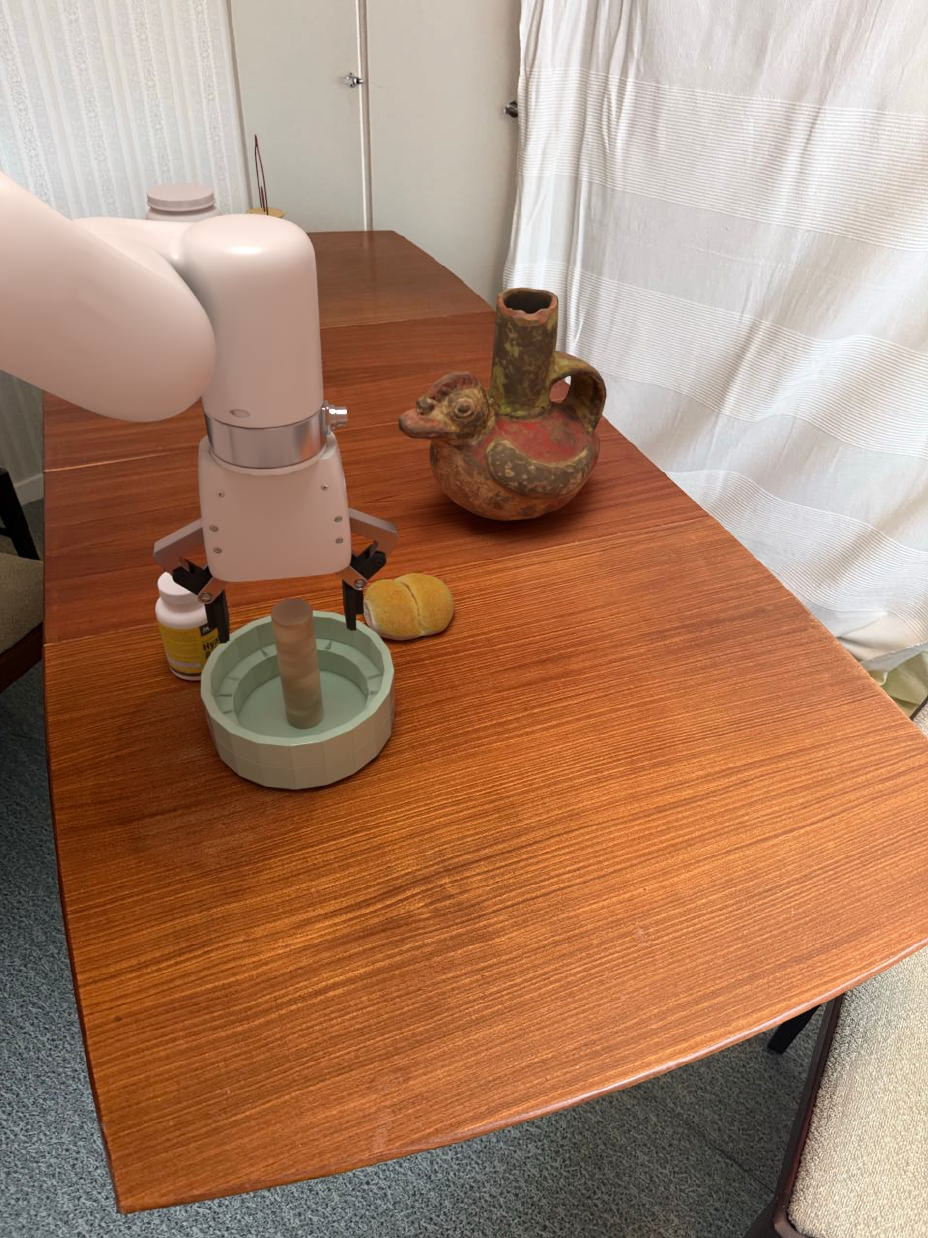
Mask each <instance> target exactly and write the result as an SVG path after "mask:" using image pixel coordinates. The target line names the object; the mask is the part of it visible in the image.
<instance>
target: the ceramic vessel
mask: <svg viewBox="0 0 928 1238" xmlns="http://www.w3.org/2000/svg"><path fill="white" fill-rule="evenodd" d="M495 307H496V308H495V318H494V319H495V320H494V335H493V336H494V337H493V348H492V360H491V361H492V362H491V372H490V380H489V381H490V382H489V389H488V392H487V393H486V391H485V388H484V387H483V385H482V384H481V383H480V381H479V380H478V378H477V377H476V376H475V374H473V373H472V372H470V371H469V370H468V371H467V370H455V371H451V372H448V373H446V374H444V375H443V376H442V377H439V378H438V379H437V380H436V381H435V382H434V383H433V384H431V385H430V387H429V389H428V390H427V392H426V393H425V394H424V395H421V396H420V397H419V398H418V399H417V400H416V401H415V407H414V408H411V409H409V410H407V411H404V412H402V413H401V415H400V416H399V417H398V418H397V422H398V429H399V431H400V432H401V433H403V434H404V435H405V436H407V437H409V438H410V439H414V440H418V439H421V440H430V443H429V449H428V452H429V453H428V459H429V465H430V470H431V473H432V476H433V477H434V479H435V481H436V483H437V485H438V487H439V488H440V489H441V490H442V492H443V493H444V494H445V495H446V496H447V497H448V498H449V499H450V500H452V501H453V502H454V503H455V504H457V505H458V506H460V507H461V508H463V509H465V510H466V511H468V512H470V513H471V514H473V515H476V516H478V517H481V518H484V519H489V520H493V521H501V522H508V521H520V520H521V521H522V520H532V519H536V518H539V517H541V516H544V515H545V514H548V513H552V512H556V511H557V510H560V509H561V508H562V507H563V506H566V505H567V504H568V503H570V501H571V500H573V499H574V498H575V497H576V496H577V494H578V493H579V492H580V490H581V489H582V488H583V486H585V484H586V482H587V481H588V479H589V478H590V476H591V475H592V473H593V472H594V469H595V468H596V465H597V463H598V460H599V456H600V452H601V439H600V437H599V436H600V435H598V433H597V432H595V431H596V429H597V427H598V425H599V423H600V420H601V418H602V416H603V412H604V409H605V405H606V401H607V398H608V397H607V387H606V383H605V380H604V378H603V376H602V375H601V374H600V372H599V370H597V368H596V367H594V366H593V365H591V364H590V363H588V362H587V361H584V360H583V359H581V358H579V357H577V356H575V355H573V354H570V353H566V352H564V351H560V350H557V342H558V328H559V297H558V295H557V294H555V293H554V292H552V291H549V290H546V289H538V288H531V287H513V288H508V289H504V290H502V291H500V292H499V293H498V295H497V297H496V306H495ZM569 377H570V380H569V387H568V390H567V393H566V395H565V397H564V398H563V399H562V401H561V402H556V401H553V400H551V398H550V394H551V392H552V388H553V386H554V385H555V384H557V383H559V382H560V381H561V380H564V379H566V378H569Z"/></svg>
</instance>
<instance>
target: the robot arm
mask: <svg viewBox="0 0 928 1238" xmlns="http://www.w3.org/2000/svg"><path fill="white" fill-rule="evenodd" d="M316 260H317V259H316V253H315V249H314V245H313V243H312V241H311V239H310V237H309V236H308V234H307V233H306V232H305V230H303V229H302V228H301V227H300V226H299V225H297V224H296V223H294V222H292V221H290V220H287V219H284V218H277V217H273V216H268V215H260V214H245V213H229V214H222V215H221V216H216V217H212V218H208V219H205V220H202V221H200V222H169V221H152V220H146V219H141V218H140V219H139V218H129V217H117V216H85V217H78V218H73V219H70V218H68V217H66V215H64V214H62V213H61V212H59V211H58V210H56V209H55V208H53V207H52V206H51V205H49V204H48V203H47V202H44V201H43V200H42V199H40V198H39V197H38V196H36V195H35V194H33V193H31V192H30V191H29V190H27V189H26V188H25V187H23V185H21V184H20V183H18V182H17V181H15V180H14V179H13V178H11V177H10V176H8V175H7V174H6V173H5V172H3V171H2V170H0V370H1V371H2V372H5V373H7V374H8V375H11V376H13V377H15V378H17V379H19V380H21V381H24V382H26V383H28V384H29V385H31V386H34V387H36V388H38V389H41V390H43V391H45V392H47V393H49V394H51V395H53V396H55V397H57V398H60V399H62V400H64V401H67V402H68V403H70V404H72V405H74V406H77V407H79V408H82V409H84V410H86V411H90V412H92V413H95V414H98V415H101V416H104V417H107V418H110V419H115V420H120V421H125V422H133V423H135V422H136V423H151V422H160V421H163V420H166V419H169V418H173V417H175V416H177V415H179V414H181V413H183V412H185V411H186V410H188V409H189V408H190V407H191V406H193V405H194V404H195V403H197V402H198V400H199V399H200V398H201V403H202V411H203V415H204V422H205V428H206V435H205V436H203V437H202V438H201V439H200V441H199V443H198V453H197V454H198V455H197V481H198V482H197V483H198V496H199V506H200V507H199V509H200V518H198V519H197V520H194V521H192V522H191V523H189V524H187V525H185V526H183V527H181V528H179V529H177V530H175V531H174V532H172V533H170V534H168V535H166V536H164V537H162V538H160V539H158V540H156V541H155V542H154V543H153V547H152V548H153V549H152V558H153V560H154V561H155V562H156V563H157V564H158V565H159V566H160V567H161V569H163V570H164V571H165V572H167V573H169V574H170V575H171V576H172V579H173V581H174V582H175V583H176V584H178V585H180V586H181V587H183V588H185V589H187V590H188V591H190V592H192V593H194V594H195V595H197V598H198V600H199V602H201V603H203V604H204V606H205V612H206V617H207V622H208V627H209V629H213V628H217V630H218V635H219V641H220V644H224V643H227V641H230V634H231V632H230V631H231V630H230V627H231V623H230V621H231V620H230V612H229V606H228V601H227V594H226V587H227V586H228V585H229V584H230V583H241V582H243V583H244V582H245V583H246V582H258V581H259V582H260V581H270V580H271V581H272V580H282V579H284V580H285V579H294V578H295V579H296V578H304V577H314V576H322V575H323V576H324V575H330V574H335V575H337V577H338V578H340V579H341V587H342V589H341V590H342V606H343V613H344V614H343V615H344V616H345V620H346V626H347V629H350V631H354V630H356V620H357V616H358V615H364V590H366V588H367V587H368V585H369V582H368V581H369V580H371V579H372V578H373V577H374V576H375V575H376V574H377V573H378V572H379V571H380V570H382V569H383V568H384V567H385V566H386V564H387V559H388V557H389V556H390V555H391V554H392V552H393V550H394V549H395V547H396V546H397V544H398V542H399V540H400V538H401V537H400V533H399V529H398V526H397V525H396V524H395V523H393V522H390V521H387V520H385V519H382V518H379V517H376V516H374V515H371V514H368V513H365V512H362V511H359V510H357V509H354V508H351V507H349V502H348V492H347V484H346V479H345V472H344V467H343V466H344V465H343V459H342V455H341V450H340V446H339V444H338V440H337V437H336V434H335V433H334V432H333V430H337V428H346V427H347V428H348V425H349V423H348V420H349V419H348V410H347V406H346V405H345V406H336V405H335V404H329V400H328V399H325V398H324V397H325V396H324V379H323V362H322V361H323V360H322V358H323V357H322V343H321V340H322V339H321V329H320V328H321V325H320V309H319V307H320V306H319V291H318V271H317V262H316ZM324 399H325V400H324ZM352 534H355V535H358V536H361V537H364V538H367V539H370V540H372V541H373V542H372V543H371V544H370V545H368V546H367V547H366V548H365V549H364V550H363V551H361V553H360V554H358V553H356V552H355V551H354V550H353V549H352ZM203 545H204V550H205V557H206V561H207V562H205V564H204V565H203V566H202V567H200V566H199V565H197V564H195V563H194V562H192V561H190V560H189V559H186V558H184V557H183V555H185V554H187V553H189V552H191V551H193V550H194V549H196V548H198V547H200V546H203Z"/></svg>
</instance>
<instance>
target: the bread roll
mask: <svg viewBox="0 0 928 1238" xmlns="http://www.w3.org/2000/svg"><path fill="white" fill-rule="evenodd" d="M365 590H366V591H365V593H364V595H365V596H363V599H364V614H363V617H364V620H365V624H367V627H369V628H370V629H372V630H373V631H375V632H376V633H377V634H378V635H379V637H380V638H384V639H385V638H386V639H389V640H395V641H405V640H406V641H407V640H413V639H416V638H419V637H423V636H424V637H425V636H432V635H435V634H438V633H441V632H442V631H444V630H445V629H446V628H447V627H448V625H449V624H450V622H451V620H452V618H453V616H454V615H453V614H454V610H455V600H454V597H453V595H452V592H451V590H450V589H449V587H448V586H447V584H445V583H444V581H442V580H441V579H440V578H437V577H436V576H432V575H430V574H424V573H419V572H418V573H415V572H410V573H406V574H403V575H401V576H399V577H397V578H394V579H387V578H386V579H383V578H382V579H379V580H376V581H374V582H373V583H372V584H371V585H369V587H368V588H367V589H365Z"/></svg>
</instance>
